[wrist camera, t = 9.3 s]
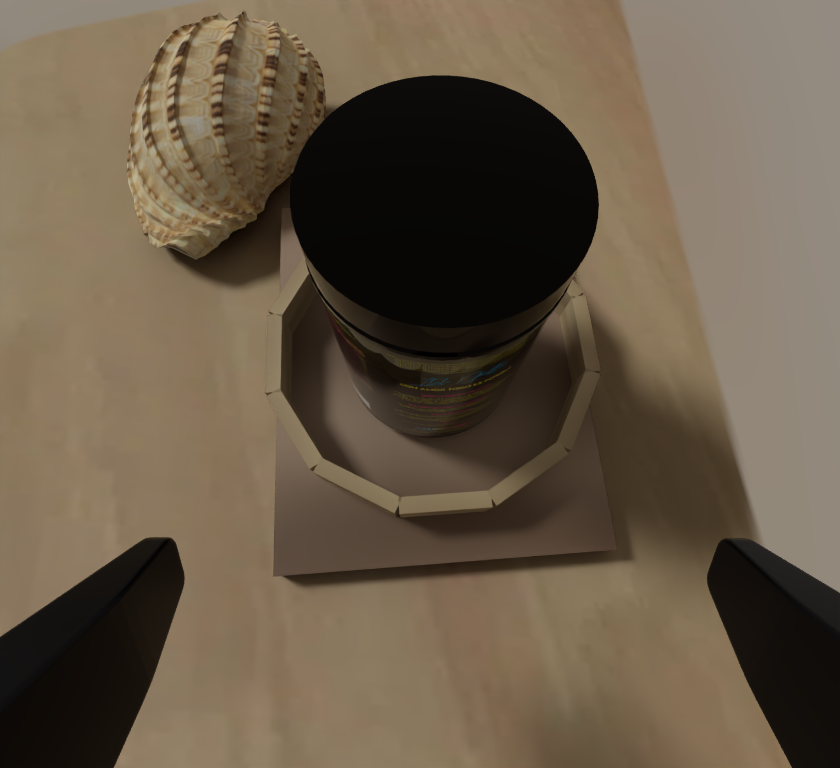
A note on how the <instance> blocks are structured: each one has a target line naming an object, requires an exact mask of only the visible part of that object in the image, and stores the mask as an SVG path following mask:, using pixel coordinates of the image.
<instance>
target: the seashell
mask: <svg viewBox="0 0 840 768" xmlns="http://www.w3.org/2000/svg"><path fill="white" fill-rule="evenodd" d="M325 108H326V96H325V89H324V79H323V74H322V71H321V69H320V66H319V64H318V62H317V60H316V59H315V58H314V56H313V55H312V54H311V52H310V49H305V48H304V46H303V44H302V42H301V41H300V40H299V39H298V38H297V34H295V35H293V36H292V35H289V34H288V33H287V31H286V29H281V28H280V26H279V24H278V23H275V21H273V22H267V21H265V20H262V21H258V20H256V19H251V20H249V19H248V18H247V15H246V12H245V11H243V12H242V13H241V14H240V15H239V16H237V17H236V18H235V19H233V20H232V21H228V20H227V19H226V18H224V17H223V16H222V15H221V14H220V13H218V14H217V15H216V16H209V17H204V18H203V19H202V20H200V21H197V22H196V23H192V24H190V25H184V26H182V27H180V28H178V29H177V30H175V31H173V32H172V33H171V34H170V36H169V37H168V38H167V39H166V40H165V41H164V42H163V44H162V45H161V47H160V48H159V50H158V52H157V54H156V57H155V59H154V61H153V64H152V66H151V68H150V70H149V72H148V73H147V75H146V77H145V79H144V81H143V83H142V85H141V87H140V90H139V93H138V95H137V98H136V101H135V105H134V110H133V114H132V122H131V130H130V146H129V151H128V161H127V175H128V181H129V186H130V189H131V192H132V195H133V197H134V203H135V209H136V213H137V215H138V218H139V221H140V224H141V226H142V228H143V232H144V235H146V236H148V235H149V239H150V243H152V244H153V245H154V246H155V247H157V248H159V247H169V248H173V249H175V250H177V251H179V252H181V253H183V254H185V255H187V256H189V257H191V258H193V259H195V260H197V259H198V258H200V257H203V256H205V255H207V254H208V253H209V252H210V251H211V250H213V249H214V248H216V247H218V245H219V244H220V243H221V242H222V241H223V240H225V239H227V238H229V235H230V234H231V233H232V232H233V231H236V230H238V229H241V228H244V227H245V226H246V224H247V223H250V222H252V221H255V220H256V218H257V214H259V213H260V212H262V211H263V210H264V206H265V203H266V201H267V199H268V197H269V195H270V194H271V192H272V191H273V190H274V189H275V187H277V186H278V185H280V184H282V183H283V182H284V181H285V180H286V179H287V178H288V177H289V176H290V175H291V174H292V173H293V172H294V168H295V165H296V162H297V160H298V157H299V155H300V153H301V151H302V149H303V147H304V145H305V143H306V142H307V140H308V139H309V138H310V136H311V135H312V133H313V132H314V131H315V130H316V128H317V127H318V126H319V125H320V124H321V123H322V122H323V121H324V117H325Z"/></svg>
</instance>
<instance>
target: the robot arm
mask: <svg viewBox="0 0 840 768" xmlns="http://www.w3.org/2000/svg"><path fill="white" fill-rule="evenodd" d="M707 584H708V588H709V591H710V593H711V596H712V598H713V601H714V603H715V606H716V608H717V610H718V613H719V615H720V618H721V620H722V622H723V625H724V627H725V630H726V632H727V635H728V637H729V639H730V642H731V644H732V647H733V649H734V652H735V654H736V656H737V659H738V661H739V664H740V666H741V668H742V671H743V673H744V675H745V677H746V680H747V682H748V684H749V686H750V688H751V690H752V692H753V694H754V696H755V698H756V700H757V702H758V704H759V706H760V708H761V710H762V711H763V713H764V715H765V717H766V719H767V721H768V723H769V725H770V727H771V729H772V731H773V732H774V734H775V736H776V738H777V740H778V742H779V744H780V746H781V748H782V750H783V751H784V753H785V755H786V757H787V759H788V761H789V763H790V765H791V767H792V768H840V593H839V592H837V591H836V590H834V589H832V588H831V587H829V586H827V585H826V584H824V583H822V582H821V581H819V580H817V579H816V578H814V577H812V576H811V575H809V574H807V573H806V572H804V571H802V570H801V569H799V568H797V567H796V566H794V565H792V564H791V563H789V562H787V561H786V560H784V559H782V558H781V557H779V556H777V555H776V554H774V553H772V552H771V551H769V550H767V549H766V548H764V547H762V546H761V545H759V544H757V543H756V542H754V541H752V540H750V539H745V538H726V539H723V540H721V541H720V542H719V544H718V546H717V548H716V551H715V554H714V557H713V560H712V562H711V565H710V568H709V571H708V574H707ZM183 587H184V571H183V567H182V563H181V560H180V556H179V552H178V549H177V545H176V543H175V541H174V540H173V539H172V538H169V537H150V538H146V539H144V540H142V541H140V542H139V543H137V544H136V545H134V546H133V547H131V548H130V549H128V550H127V551H125V552H124V553H123V554H121V555H120V556H118V557H117V558H115V559H114V560H112V561H111V562H109V563H108V564H106V565H105V566H103V567H102V568H101V569H99V570H98V571H96V572H95V573H93V574H92V575H90V576H89V577H87V578H86V579H84V580H83V581H81V582H80V583H79V584H77V585H76V586H74V587H73V588H71V589H70V590H68V591H67V592H65V593H64V594H62V595H61V596H59V597H58V598H57V599H55V600H54V601H52V602H51V603H49V604H48V605H46V606H45V607H43V608H42V609H40V610H39V611H37V612H36V613H35V614H33V615H32V616H30V617H29V618H27V619H26V620H24V621H23V622H21V623H20V624H18V625H17V626H15V627H14V628H13V629H11V630H10V631H8V632H7V633H5V634H4V635H2V636H1V637H0V768H114V766H115V764H116V762H117V759H118V757H119V755H120V753H121V750H122V748H123V746H124V744H125V741H126V739H127V737H128V735H129V732H130V730H131V728H132V726H133V724H134V721H135V719H136V717H137V715H138V712H139V710H140V708H141V706H142V703H143V701H144V699H145V696H146V694H147V692H148V689H149V687H150V685H151V682H152V679H153V676H154V674H155V671H156V668H157V665H158V662H159V659H160V656H161V653H162V650H163V647H164V644H165V641H166V638H167V635H168V632H169V629H170V626H171V623H172V620H173V617H174V614H175V611H176V608H177V605H178V602H179V599H180V596H181V593H182V590H183Z"/></svg>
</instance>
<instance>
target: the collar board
mask: <svg viewBox="0 0 840 768" xmlns="http://www.w3.org/2000/svg"><path fill="white" fill-rule="evenodd" d="M582 294H583V290H582V289H581V288H580V287H579V286H578V285H577V284H576V283H575V281H574V280H573V279H572V281H571V283H570V285H569V288H568V290H567V292H566V294H565V295H564V297H563V298H562V300H561V302H560V303H559V305H558V306H557V308H556V309H555V310H554V311H553V313H552V314H551V315H550V316H549V318H548V320H547V322H546V323H545V325H544V327H543V329H542V330H541V332H540V334H539V336H538V337H537V339H536V341H535V343H534V345H533V346H532V348H531V350H530V352H529V353H528V355H527V357H526V359H525V360H524V362H523V364H522V366H521V368H520V369H519V371H518V373H517V375H516V376H515V378H514V380H513V382H512V383H511V385H510V387H509V389H508V390H507V392H506V394H505V396H504V398H503V399H502V401H501V402H500V404H499V405H498V407H497V408H496V409H495V410H494V411H493V412H492V413H491V414H490V415H489V416H488V417H487V418H486V419H485V420H484V421H482V422H481V423H479V424H478V425H476V426H475V427H473V428H471V429H469V430H467V431H465V432H462V433H459V434H456V435H452V436H448V437H441V438H422V437H415V436H411V435H407V434H404V433H401V432H398V431H396V430H394V429H392V428H390V427H388V426H387V425H385V424H383V423H382V422H381V421H379V420H378V419H377V418H375V417H374V416H373V415H372V414H371V413H370V412H369V411H368V410H367V408H366V407H365V406H364V405H363V403H362V402H361V400H360V399H359V397H358V395H357V393H356V391H355V389H354V386H353V384H352V381H351V378H350V376H349V373H348V370H347V367H346V365H345V362H344V359H343V357H342V354H341V351H340V348H339V346H338V343H337V340H336V337H335V335H334V332H333V329H332V327H331V324H330V321H329V318H328V316H327V313H326V310H325V307H324V305H323V302H322V299H321V297H320V296H319V294H318V292H317V290H316V288H315V286H314V284H313V282H312V279H311V277H310V274H309V272H308V269H307V265H306V261H305V257H304V254H303V252H302V249H301V246H300V244H299V241H298V238H297V236H296V233H295V230H294V226H293V222H292V217H291V210H290V207H289V208H282V211H281V256H280V294H279V295H278V297H277V299H276V300H275V302H274V303H273V305H272V306H271V308H270V309H269V313H270V315H267V336H266V368H265V394H266V395H267V396H266V398H267V400H268V401H269V403H270V405H271V406H272V408H273V409H274V411H275V413H276V414H277V435H276V480H275V525H274V570H273V576H286V575H299V574H311V573H324V572H337V571H350V570H363V569H375V568H388V567H401V566H414V565H427V564H440V563H452V562H465V561H478V560H491V559H504V558H516V557H529V556H542V555H555V554H568V553H580V552H593V551H606V550H618V549H617V544H616V538H615V533H614V528H613V523H612V518H611V512H610V507H609V502H608V497H607V492H606V487H605V481H604V476H603V471H602V466H601V461H600V455H599V450H598V445H597V440H596V435H595V429H594V424H593V419H592V414H591V409H590V401H591V398H592V396H593V393H594V391H595V388H596V385H597V383H598V380H599V378H600V375H601V374H598V373H599V372H600V371H601V368H600V363H599V358H598V354H597V349H596V344H595V339H594V334H593V329H592V324H591V319H590V315H589V310H588V305H587V300H586V295H583V296H581V295H582Z"/></svg>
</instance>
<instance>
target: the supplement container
mask: <svg viewBox="0 0 840 768" xmlns="http://www.w3.org/2000/svg"><path fill="white" fill-rule="evenodd" d="M598 209H599V201H598V190H597V184H596V179H595V176H594V173H593V170H592V167H591V164H590V162H589V160H588V158H587V155H586V154H585V152H584V150H583V149H582V147H581V145H580V143H579V142H578V141H577V139H576V138H575V137H574V135H573V134H572V133H571V132H570V131H569V129H568V128H567V127H566V126H565V125H564V124H563V123H562V122H561V121H560V120H559V119H558V118H557V117H555V116H554V115H553V114H552V113H551V112H549V111H548V110H547V109H545V108H544V107H543V106H541V105H540V104H538V103H537V102H535V101H533V100H532V99H530V98H528V97H526V96H524V95H522V94H520V93H518V92H516V91H514V90H511V89H509V88H507V87H504V86H501V85H498V84H495V83H492V82H488V81H484V80H479V79H474V78H468V77H460V76H420V77H413V78H407V79H402V80H398V81H393V82H390V83H387V84H384V85H380V86H378V87H375V88H373V89H370V90H368V91H365V92H364V93H362V94H360V95H358V96H356V97H354V98H352V99H351V100H349V101H347V102H346V103H344V104H343V105H341V106H340V107H339V108H337V109H336V110H335V111H334V112H332V113H331V114H330V115H329V116H328V117H327V118H326V119H325V120H324V121H323V122H322V123H321V124H320V125H319V126H318V127H317V128H316V130H315V131H314V132H313V133H312V135H311V136H310V138H309V139H308V140H307V142H306V143H305V145H304V147H303V149H302V151H301V153H300V155H299V157H298V160H297V162H296V165H295V168H294V172H293V176H292V180H291V188H290V210H291V217H292V222H293V226H294V230H295V233H296V236H297V238H298V241H299V244H300V246H301V249H302V252H303V254H304V257H305V261H306V265H307V269H308V272H309V274H310V277H311V279H312V282H313V284H314V286H315V288H316V290H317V292H318V294H319V296H320V297H321V299H322V302H323V305H324V307H325V310H326V313H327V316H328V318H329V321H330V324H331V327H332V329H333V332H334V335H335V337H336V340H337V343H338V346H339V348H340V351H341V354H342V357H343V359H344V362H345V365H346V367H347V370H348V373H349V376H350V378H351V381H352V384H353V386H354V389H355V391H356V393H357V395H358V397H359V399H360V400H361V402H362V403H363V405H364V406H365V407H366V408H367V410H368V411H369V412H370V413H371V414H372V415H373V416H374V417H375V418H377V419H378V420H379V421H381V422H382V423H383V424H385V425H387V426H388V427H390V428H392V429H394V430H396V431H398V432H401V433H404V434H407V435H411V436H415V437H422V438H441V437H448V436H452V435H456V434H459V433H462V432H465V431H467V430H469V429H471V428H473V427H475V426H476V425H478V424H479V423H481V422H482V421H484V420H485V419H486V418H487V417H488V416H489V415H490V414H491V413H492V412H493V411H494V410H495V409H496V408H497V407H498V405H499V404H500V402H501V401H502V399H503V398H504V396H505V394H506V392H507V390H508V389H509V387H510V385H511V383H512V382H513V380H514V378H515V376H516V375H517V373H518V371H519V369H520V368H521V366H522V364H523V362H524V360H525V359H526V357H527V355H528V353H529V352H530V350H531V348H532V346H533V345H534V343H535V341H536V339H537V337H538V336H539V334H540V332H541V330H542V329H543V327H544V325H545V323H546V322H547V320H548V318H549V316H550V315H551V314H552V313H553V311H554V310H555V309H556V308H557V306H558V305H559V303H560V302H561V300H562V298H563V297H564V295H565V294H566V292H567V290H568V288H569V285H570V283H571V281H572V279H573V277H574V275H575V273H576V272H577V270H578V268H579V266H580V265H581V263H582V261H583V259H584V258H585V256H586V254H587V252H588V249H589V247H590V245H591V243H592V240H593V237H594V234H595V230H596V225H597V220H598Z"/></svg>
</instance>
